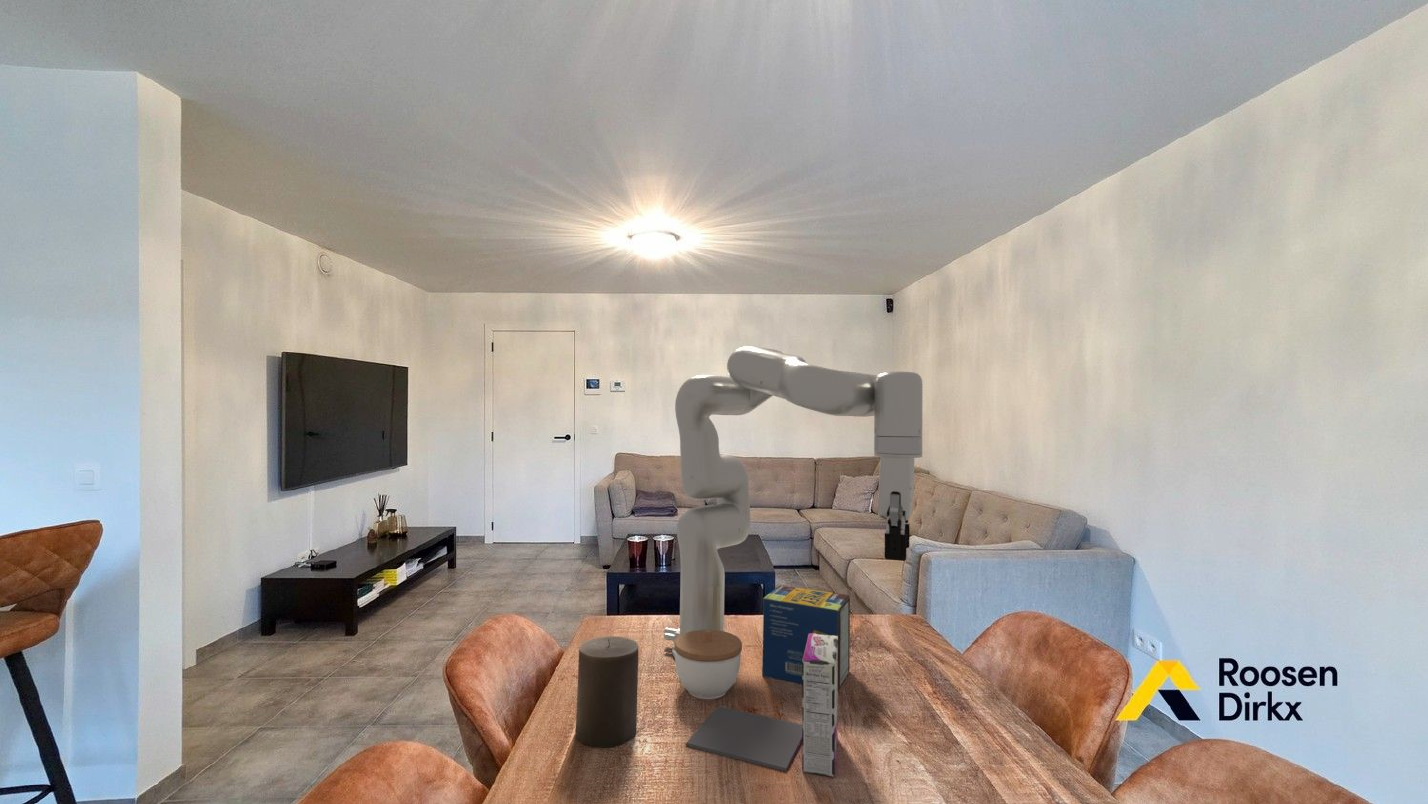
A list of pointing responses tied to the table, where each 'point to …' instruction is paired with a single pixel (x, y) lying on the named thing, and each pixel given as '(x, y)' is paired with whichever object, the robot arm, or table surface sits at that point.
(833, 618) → the protein box
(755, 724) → the mat
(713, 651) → the lidded bowl
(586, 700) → the pillar candle
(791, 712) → the table surface
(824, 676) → the candy bar box
